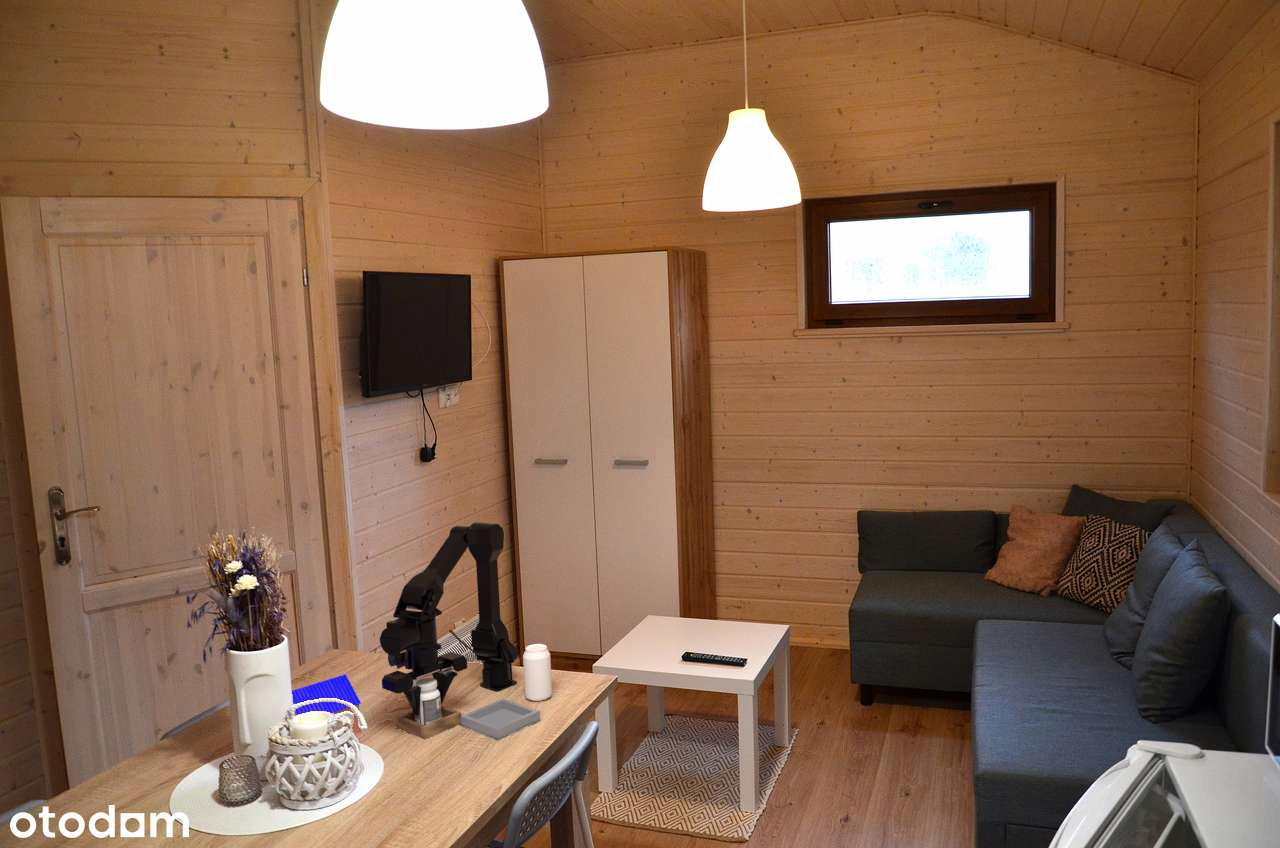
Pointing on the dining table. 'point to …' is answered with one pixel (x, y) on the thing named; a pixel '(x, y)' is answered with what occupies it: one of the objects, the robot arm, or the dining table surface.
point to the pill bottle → (428, 702)
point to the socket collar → (426, 731)
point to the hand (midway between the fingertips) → (427, 710)
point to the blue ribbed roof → (328, 689)
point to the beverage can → (537, 672)
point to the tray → (500, 718)
